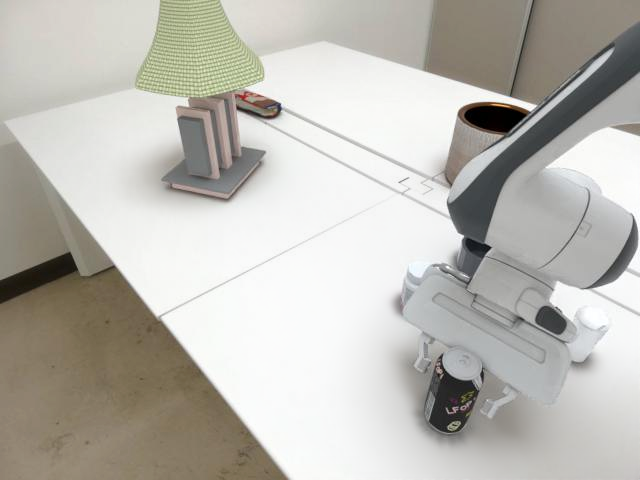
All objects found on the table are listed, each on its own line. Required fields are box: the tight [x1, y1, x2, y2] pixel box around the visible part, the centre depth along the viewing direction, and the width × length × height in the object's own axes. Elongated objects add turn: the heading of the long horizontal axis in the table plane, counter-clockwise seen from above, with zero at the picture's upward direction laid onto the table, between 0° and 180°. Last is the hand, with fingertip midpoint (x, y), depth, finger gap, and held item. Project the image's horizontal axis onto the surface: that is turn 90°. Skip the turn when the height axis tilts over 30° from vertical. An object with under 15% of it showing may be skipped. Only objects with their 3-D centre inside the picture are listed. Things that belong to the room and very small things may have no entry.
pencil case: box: [234, 89, 283, 117], centre depth 137 cm, size 11×20×5 cm, turn 40°
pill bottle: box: [399, 260, 431, 310], centre depth 74 cm, size 5×5×8 cm
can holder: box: [456, 235, 492, 277], centre depth 83 cm, size 9×9×5 cm
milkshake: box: [564, 304, 613, 363], centre depth 66 cm, size 4×5×10 cm
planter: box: [444, 101, 532, 185], centre depth 103 cm, size 18×18×16 cm
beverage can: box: [423, 347, 485, 435], centre depth 57 cm, size 6×6×12 cm
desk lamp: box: [134, 0, 267, 200], centre depth 97 cm, size 26×28×40 cm
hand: (451, 391), depth 57 cm, fingers open, 8 cm apart
